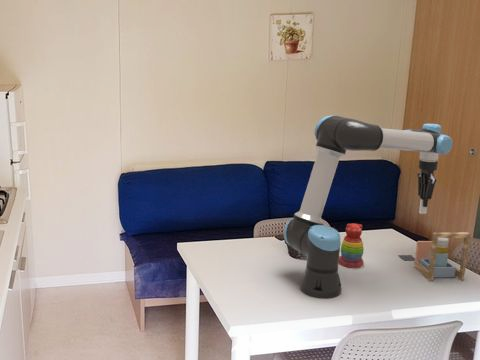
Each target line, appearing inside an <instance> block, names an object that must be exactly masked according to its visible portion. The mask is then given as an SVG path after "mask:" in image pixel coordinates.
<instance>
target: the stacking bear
mask: <svg viewBox="0 0 480 360" xmlns="http://www.w3.org/2000/svg"><path fill="white" fill-rule="evenodd" d="M362 229H363V224H360V223H354V222H353V223H347V224H346V227H345V236H344V237H343V239H342V243H341V245H340V255H339V263H338V264H339V265H341V266H343V267H346V268H350V269H351V268H352V269H356V268H357V269H358V268H360V267H362V266H363V265H364V259H363V254H364V249H365V248H364V241H363V239H362V238H361V236H362V232H363V230H362Z"/></svg>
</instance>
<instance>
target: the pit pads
mask: <svg viewBox="0 0 480 360" xmlns="http://www.w3.org/2000/svg"><path fill="white" fill-rule="evenodd" d="M398 257H399V258H400V259H401V260H402V261H403V262H407V261H409V262H411V261H414V262H415V257H414V256H413V255H411V254H405V255H404V254H402V255H401V254H399V255H398Z"/></svg>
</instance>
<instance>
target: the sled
mask: <svg viewBox="0 0 480 360" xmlns="http://www.w3.org/2000/svg"><path fill="white" fill-rule="evenodd" d="M431 246H432V240H418V241H416V247H415V257H414V258H415V261H418V262H419V263H420V264H421V265H423V266H424V267H425V268H426V269H428V270H429V257H430V249H431ZM415 261H414V262H415ZM450 263H451V262H449V261H447V267H434V275H433V278H455V277H456V276H455V271H456V268H457V267H456V266H455V265H453V264H452V263H451V264H450Z"/></svg>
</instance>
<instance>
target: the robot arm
mask: <svg viewBox="0 0 480 360" xmlns="http://www.w3.org/2000/svg"><path fill="white" fill-rule="evenodd" d="M314 136H315V140H316V144H315V148H316V150H317V154H316V158H315V161H314V164H313V166H312V170H311V172H310V177H309V180H308V183H307V185H306V190H305V192H304V196H303V199H302V202H301V205H300V209H299V211H297V212H295V213H294V214H293V218H290V219H289V220H288V221H287V222H286V223H285V225H284V229H283V239H284V241H285V242H286V244H287V245H288V246H289V247H291V249H293V250H295V251H297V252H299V253H300V254H303V255H304V256H306V266H305V267H306V268H305V270H304V273H303V276H302V279H301V280H300V286H299V288H300V291H302V293H304V294H306V295H308V296H311V297H315V298H322V299H325V298H326V299H327V298H328V299H330V298H335V297H338V296H339V295H340V294H341V293H342V283H341V279H340V275H339V264H340V263H339V256H340V254H341V245H342V243H341V234H340V232H339V231H338V230H337V229H336V228H334V227H331V226H327V225H324V221H323V218H322V216H323V212H324V208H325V206H326V202H327V199H328V196H329V193H330V190H331V187H332V183H333V182H334V180H333V179H334V177H335V174H336V172H337V171H336V170H337V168H338V164H339V161H340V159H341V158H342V157H344V156H345V155H346V152H347V151H352V152H353V151H355V152H356V151H361V152H362V151H369V152H370V151H371V152H373V151H374V152H377V151H378V150H380V149H382V150H392V151H393V150H396V151H409V152H419V161H418V168H419V169H418V170H420V172H418V173H417V195H418V196H419V198H420V200H419V202H420V203H419V208H418V210H419V211H418V213H419V214H420V215H426V214H427V211H428V202H429V200H431V199H432V197H433V192H434V189H435V184H436V183H437V179H436V178H434V172H435V171H437V169H438V164H439V163H438V161H439V155H446V154H448V153H450V151H451V150H452V148H453V139H452V138H451V136H449V135H446V134H444V133H443V134H442V126H441V125H440V124H438V123H437V124H436V123H424V124H423V125H422V128H420V129H417V128H416V129H404V130H403V129H392V128H382V127H381V126H380V125H379V124H373V123H372V124H371V123H369V122H368V123H367V122H364V121H362V120H359V119H358V120H357V119H354V118H349V117H345V116H340V115H326V116H324V117H322V118H321V119H320V120H319V121H318V122H317V123H316V126H315V128H314Z"/></svg>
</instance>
